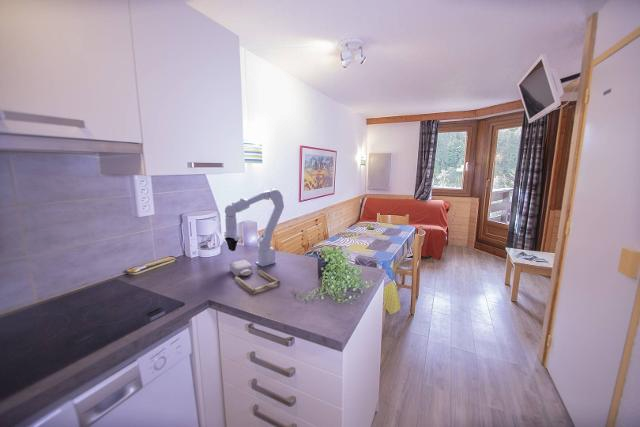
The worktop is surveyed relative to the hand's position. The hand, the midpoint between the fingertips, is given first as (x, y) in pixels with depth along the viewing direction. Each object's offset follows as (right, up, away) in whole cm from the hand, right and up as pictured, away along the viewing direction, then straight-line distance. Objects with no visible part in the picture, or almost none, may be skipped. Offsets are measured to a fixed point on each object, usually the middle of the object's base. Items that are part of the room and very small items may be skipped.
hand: (232, 250), depth 145 cm
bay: (+18, -13, -18) cm, 29 cm away
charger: (+8, -12, -8) cm, 16 cm away
